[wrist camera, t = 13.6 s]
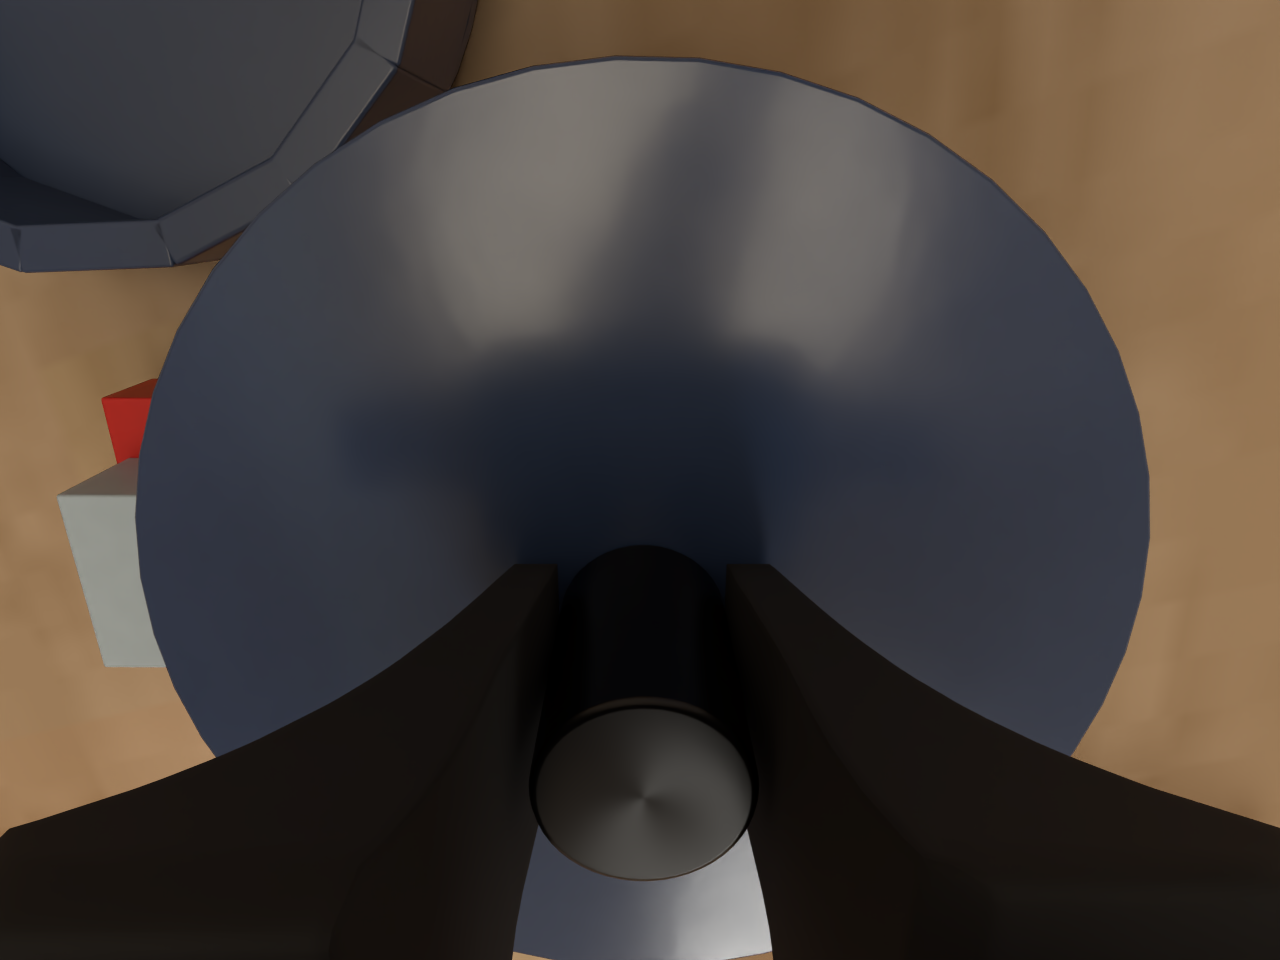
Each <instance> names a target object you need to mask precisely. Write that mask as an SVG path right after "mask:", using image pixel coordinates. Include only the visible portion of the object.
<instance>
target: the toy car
mask: <svg viewBox="0 0 1280 960" xmlns="http://www.w3.org/2000/svg"><path fill="white" fill-rule="evenodd" d="M157 380H158V379H150V380H148V381H145V382H143V383H140V384H137V385H135V386H132V387H129V388H127V389H124V390H121V391H119V392H116V393H114V394H111V395H108V396H106V397H103V398H102V404H103V408H104V412H105V416H106V420H107V424H108V428H109V432H110V436H111V440H112V444H113V448H114V452H115V456H116V460H117V464H116V465H114V466H113V467H111V468H109V469H107V470H105V471H103V472H101V473H99V474H97V475H95V476H93V477H91V478H89V479H87V480H85V481H84V482H82V483H80V484H78V485H76V486H74V487H72V488H70V489H68V490H66V491H64V492H62V493H60V494H58V495H57V500H58V504H59V507H60V511H61V514H62V518H63V521H64V525H65V529H66V532H67V536H68V539H69V543H70V546H71V550H72V553H73V557H74V560H75V564H76V567H77V571H78V574H79V578H80V581H81V585H82V589H83V592H84V596H85V599H86V603H87V606H88V610H89V613H90V617H91V620H92V624H93V627H94V631H95V634H96V638H97V641H98V645H99V649H100V652H101V656H102V659H103V663H104V666H105V667H166V665H165V663H164V660H163V657H162V655H161V652H160V650H159V647H158V645H157V642H156V639H155V637H154V634H153V630H152V626H151V621H150V617H149V613H148V609H147V604H146V600H145V596H144V592H143V587H142V583H141V579H140V570H139V559H138V547H137V536H136V524H135V508H136V492H137V476H138V461H139V452H140V448H141V443H142V439H143V434H144V430H145V425H146V421H147V416H148V411H149V407H150V402H151V398H152V393H153V391H154V388H155V385H156V383H157Z"/></svg>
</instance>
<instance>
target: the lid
mask: <svg viewBox="0 0 1280 960" xmlns="http://www.w3.org/2000/svg"><path fill="white" fill-rule="evenodd" d="M135 524H136V536H137V547H138V559H139V570H140V579H141V583H142V587H143V592H144V596H145V600H146V604H147V609H148V613H149V617H150V621H151V626H152V630H153V634H154V637H155V639H156V642H157V645H158V647H159V650H160V652H161V655H162V657H163V660H164V663H165V665H166V668H167V670H168V673H169V676H170V678H171V681H172V683H173V686H174V688H175V690H176V692H177V694H178V696H179V697H180V699H181V701H182V703H183V705H184V706H185V708H186V710H187V712H188V714H189V716H190V717H191V719H192V721H193V723H194V725H195V727H196V728H197V730H198V732H199V734H200V736H201V737H202V739H203V740H204V742H205V743H206V744H207V746H208V747H209V748H210V750H211V751H212V753H213V754H214V755H215V757H219V756H221V755H223V754H226V753H228V752H230V751H233V750H235V749H237V748H240V747H242V746H244V745H247V744H249V743H251V742H253V741H255V740H258V739H260V738H262V737H264V736H266V735H268V734H270V733H272V732H274V731H276V730H278V729H280V728H282V727H284V726H286V725H288V724H290V723H292V722H294V721H296V720H298V719H300V718H302V717H303V716H305V715H307V714H309V713H311V712H313V711H315V710H317V709H319V708H321V707H323V706H325V705H327V704H329V703H331V702H332V701H334V700H336V699H338V698H340V697H341V696H343V695H345V694H346V693H348V692H350V691H351V690H353V689H354V688H356V687H358V686H359V685H361V684H363V683H364V682H366V681H368V680H369V679H371V678H373V677H374V676H376V675H377V674H379V673H380V672H382V671H383V670H385V669H386V668H388V667H389V666H391V665H392V664H394V663H395V662H397V661H398V660H399V659H401V658H402V657H403V656H405V655H406V654H407V653H409V652H410V651H411V650H413V649H414V648H415V647H417V646H418V645H419V644H421V643H422V642H423V641H425V640H426V639H427V638H428V637H430V636H431V635H432V634H434V633H435V632H436V631H438V630H439V629H440V628H442V627H443V626H444V625H446V624H447V623H448V622H449V621H450V620H452V619H453V618H454V617H455V616H456V615H457V614H459V613H460V612H461V611H462V610H463V609H464V608H465V607H467V606H468V605H469V604H470V603H471V602H472V601H474V600H475V599H476V598H477V597H478V596H479V595H480V594H482V593H483V592H484V591H485V590H486V589H487V588H488V587H489V586H490V585H491V584H493V583H494V582H495V581H496V580H497V579H498V578H499V577H500V576H501V575H502V574H504V573H505V572H506V571H507V570H508V569H509V568H510V567H512V566H513V565H514V564H557V567H558V590H559V613H560V616H559V621H558V627H557V632H556V637H555V643H554V648H553V653H552V658H551V664H550V669H549V674H548V679H547V685H546V690H545V695H544V701H543V706H542V711H541V716H540V722H539V727H538V732H537V737H536V743H535V748H534V753H533V759H532V764H531V769H530V776H529V798H530V803H531V807H532V810H533V813H534V815H535V818H536V820H537V823H538V829H537V833H536V838H535V842H534V846H533V850H532V855H531V859H530V863H529V868H528V872H527V876H526V880H525V885H524V889H523V894H522V899H521V904H520V910H519V915H518V920H517V926H516V933H515V940H514V948H513V952H518V953H523V954H527V955H532V956H537V957H542V958H547V959H552V960H730V959H736V958H742V957H747V956H753V955H759V954H765V953H768V952H772V946H771V939H770V932H769V925H768V920H767V915H766V910H765V905H764V899H763V894H762V890H761V885H760V881H759V877H758V873H757V869H756V864H755V860H754V856H753V852H752V848H751V843H750V839H749V835H748V831H747V828H748V826H749V824H750V822H751V820H752V817H753V815H754V812H755V809H756V805H757V802H758V796H759V775H758V770H757V765H756V760H755V756H754V751H753V746H752V741H751V736H750V731H749V726H748V721H747V716H746V711H745V706H744V701H743V696H742V692H741V687H740V682H739V677H738V672H737V667H736V662H735V658H734V653H733V648H732V643H731V639H730V634H729V629H728V624H727V619H726V614H725V589H726V567H727V564H770V565H772V566H773V567H774V568H775V569H777V570H778V571H779V572H780V573H781V574H782V575H783V576H785V577H786V578H787V579H788V580H789V581H790V582H791V583H792V584H794V585H795V586H796V587H797V588H798V589H799V590H800V591H801V592H803V593H804V594H805V595H806V596H807V597H808V598H809V599H810V600H812V601H813V602H814V603H815V604H816V605H817V606H819V607H820V608H821V609H822V610H823V611H824V612H826V613H827V614H828V615H829V616H830V617H832V618H833V619H834V620H835V621H837V622H838V623H839V624H840V625H841V626H843V627H844V628H845V629H846V630H848V631H849V632H850V633H852V634H853V635H854V636H856V637H857V638H858V639H859V640H861V641H862V642H863V643H865V644H866V645H868V646H869V647H870V648H872V649H873V650H875V651H876V652H877V653H879V654H880V655H882V656H883V657H884V658H886V659H887V660H889V661H890V662H891V663H893V664H894V665H896V666H897V667H899V668H900V669H902V670H903V671H905V672H906V673H908V674H910V675H911V676H913V677H914V678H916V679H917V680H919V681H921V682H923V683H924V684H926V685H928V686H929V687H931V688H933V689H934V690H936V691H938V692H940V693H941V694H943V695H945V696H946V697H948V698H950V699H951V700H953V701H955V702H957V703H958V704H960V705H962V706H964V707H966V708H968V709H970V710H972V711H973V712H975V713H977V714H979V715H981V716H983V717H985V718H987V719H989V720H991V721H993V722H995V723H997V724H1000V725H1002V726H1004V727H1006V728H1008V729H1010V730H1012V731H1014V732H1016V733H1018V734H1020V735H1023V736H1025V737H1027V738H1029V739H1031V740H1033V741H1035V742H1037V743H1040V744H1042V745H1044V746H1047V747H1049V748H1051V749H1054V750H1056V751H1058V752H1061V753H1063V754H1065V755H1068V756H1071V755H1072V754H1073V752H1074V751H1075V749H1076V748H1077V746H1078V744H1079V743H1080V741H1081V739H1082V738H1083V736H1084V734H1085V733H1086V731H1087V729H1088V728H1089V726H1090V725H1091V723H1092V721H1093V720H1094V718H1095V716H1096V715H1097V713H1098V711H1099V710H1100V708H1101V706H1102V705H1103V703H1104V700H1105V698H1106V696H1107V694H1108V691H1109V689H1110V687H1111V684H1112V682H1113V680H1114V678H1115V675H1116V673H1117V671H1118V669H1119V666H1120V664H1121V662H1122V660H1123V657H1124V655H1125V653H1126V650H1127V646H1128V643H1129V639H1130V636H1131V632H1132V629H1133V625H1134V622H1135V618H1136V615H1137V611H1138V608H1139V604H1140V601H1141V597H1142V591H1143V584H1144V577H1145V570H1146V562H1147V555H1148V548H1149V541H1150V492H1149V471H1148V465H1147V459H1146V453H1145V447H1144V440H1143V434H1142V428H1141V422H1140V416H1139V412H1138V409H1137V406H1136V403H1135V400H1134V397H1133V394H1132V390H1131V387H1130V384H1129V381H1128V378H1127V375H1126V372H1125V369H1124V366H1123V363H1122V360H1121V357H1120V354H1119V351H1118V349H1117V347H1116V345H1115V343H1114V341H1113V339H1112V337H1111V335H1110V333H1109V331H1108V329H1107V328H1106V326H1105V324H1104V322H1103V320H1102V318H1101V316H1100V314H1099V312H1098V310H1097V308H1096V306H1095V304H1094V302H1093V300H1092V298H1091V296H1090V294H1089V293H1088V291H1087V289H1086V287H1085V286H1084V285H1083V283H1082V282H1081V281H1080V279H1079V278H1078V276H1077V275H1076V274H1075V272H1074V271H1073V270H1072V268H1071V267H1070V266H1069V264H1068V263H1067V261H1066V260H1065V259H1064V257H1063V256H1062V255H1061V253H1060V252H1059V251H1058V249H1057V248H1056V246H1055V245H1054V244H1053V242H1052V241H1051V240H1050V238H1049V237H1048V236H1047V234H1046V233H1045V231H1044V230H1043V229H1042V228H1041V227H1040V226H1038V225H1037V224H1036V223H1035V222H1034V221H1033V220H1032V219H1031V218H1030V217H1029V216H1028V215H1027V214H1026V213H1025V212H1024V211H1023V210H1022V209H1021V208H1020V207H1019V206H1018V205H1017V204H1016V203H1015V202H1014V201H1013V200H1012V199H1011V198H1010V197H1009V196H1008V195H1007V194H1006V193H1005V192H1004V191H1003V190H1002V189H1001V188H1000V187H999V186H998V185H997V184H996V183H995V182H994V181H993V180H992V179H991V178H989V177H988V176H987V175H985V174H984V173H983V172H981V171H980V170H978V169H977V168H976V167H974V166H973V165H971V164H970V163H969V162H967V161H966V160H965V159H963V158H962V157H960V156H959V155H958V154H956V153H955V152H954V151H952V150H951V149H949V148H948V147H947V146H945V145H944V144H942V143H941V142H940V141H938V140H937V139H936V138H934V137H933V136H931V135H930V134H928V133H926V132H924V131H922V130H921V129H919V128H917V127H915V126H913V125H911V124H909V123H907V122H905V121H903V120H901V119H899V118H897V117H895V116H893V115H891V114H889V113H887V112H885V111H883V110H881V109H880V108H878V107H876V106H874V105H872V104H870V103H868V102H866V101H864V100H862V99H860V98H858V97H855V96H852V95H849V94H846V93H843V92H840V91H837V90H834V89H831V88H828V87H825V86H822V85H819V84H816V83H813V82H810V81H807V80H804V79H801V78H798V77H795V76H792V75H789V74H786V73H783V72H779V71H773V70H767V69H762V68H756V67H750V66H745V65H739V64H733V63H727V62H722V61H716V60H710V59H704V58H696V57H655V56H608V57H600V58H592V59H584V60H575V61H567V62H559V63H551V64H543V65H535V66H530V67H527V68H523V69H520V70H516V71H512V72H509V73H505V74H502V75H498V76H494V77H491V78H487V79H484V80H480V81H477V82H473V83H469V84H466V85H462V86H459V87H455V88H452V89H450V90H448V91H446V92H443V93H441V94H439V95H437V96H434V97H432V98H430V99H428V100H426V101H423V102H421V103H419V104H417V105H414V106H412V107H410V108H408V109H406V110H403V111H401V112H399V113H397V114H394V115H392V116H390V117H388V118H386V119H383V120H381V121H379V122H378V123H376V124H375V125H373V126H372V127H370V128H368V129H367V130H365V131H364V132H362V133H361V134H359V135H358V136H356V137H355V138H353V139H351V140H350V141H348V142H347V143H345V144H344V145H342V146H341V147H339V148H338V149H336V150H334V151H333V152H331V153H330V154H328V155H327V156H325V157H324V158H322V159H321V160H319V161H317V162H316V163H314V164H313V165H312V166H311V167H310V168H309V169H308V170H307V171H305V172H304V173H303V174H302V175H301V176H300V177H299V178H298V179H296V180H295V181H294V182H293V183H292V184H291V185H290V186H289V187H288V188H286V189H285V190H284V191H283V192H282V193H281V194H280V195H279V196H277V197H276V198H275V199H274V200H273V201H272V202H271V203H270V204H268V205H267V206H266V207H265V208H264V209H263V210H262V211H261V212H259V213H258V215H257V216H256V217H255V218H254V219H253V221H252V222H251V223H250V224H249V226H248V227H247V228H246V229H245V230H244V232H243V233H242V234H241V235H240V237H239V238H238V239H237V240H236V241H235V243H234V244H233V245H232V246H231V248H230V249H229V250H228V251H227V252H226V254H225V255H224V256H223V257H222V258H221V260H220V261H219V262H218V263H217V265H216V266H215V267H214V268H213V269H212V271H211V273H210V275H209V276H208V278H207V280H206V281H205V283H204V285H203V287H202V288H201V290H200V292H199V293H198V295H197V297H196V299H195V300H194V302H193V304H192V305H191V307H190V309H189V310H188V312H187V314H186V316H185V317H184V319H183V321H182V322H181V324H180V326H179V328H178V329H177V332H176V334H175V337H174V339H173V342H172V344H171V347H170V350H169V352H168V355H167V357H166V360H165V362H164V365H163V367H162V370H161V373H160V375H159V378H158V380H157V383H156V385H155V388H154V391H153V393H152V398H151V402H150V407H149V411H148V416H147V421H146V425H145V430H144V434H143V439H142V443H141V448H140V452H139V461H138V476H137V492H136V508H135Z"/></svg>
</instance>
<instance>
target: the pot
mask: <svg viewBox="0 0 1280 960" xmlns="http://www.w3.org/2000/svg"><path fill="white" fill-rule="evenodd" d="M476 6H477V0H0V265H2V266H5V267H8V268H11V269H14V270H16V271H19V272H25V273H36V272H61V271H86V270H112V269H137V268H162V267H176V266H183V265H189V264H195V263H202V262H208V261H214V260H221V258H222V257H223V256H224V255H225V254H226V252H227V251H228V250H229V249H230V248H231V246H232V245H233V244H234V243H235V241H236V240H237V239H238V238H239V237H240V235H241V234H242V233H243V232H244V230H245V229H246V228H247V227H248V226H249V224H250V223H251V222H252V221H253V219H254V218H255V217H256V216H257V215H258V213H259V212H261V211H262V210H263V209H264V208H265V207H266V206H267V205H268V204H270V203H271V202H272V201H273V200H274V199H275V198H276V197H277V196H279V195H280V194H281V193H282V192H283V191H284V190H285V189H286V188H288V187H289V186H290V185H291V184H292V183H293V182H294V181H295V180H296V179H298V178H299V177H300V176H301V175H302V174H303V173H304V172H305V171H307V170H308V169H309V168H310V167H311V166H312V165H313V164H314V163H316V162H317V161H319V160H321V159H322V158H324V157H325V156H327V155H328V154H330V153H331V152H333V151H334V150H336V149H338V148H339V147H341V146H342V145H344V144H345V143H347V142H348V141H350V140H351V139H353V138H355V137H356V136H358V135H359V134H361V133H362V132H364V131H365V130H367V129H368V128H370V127H372V126H373V125H375V124H376V123H378V122H379V121H381V120H383V119H386V118H388V117H390V116H392V115H394V114H397V113H399V112H401V111H403V110H406V109H408V108H410V107H412V106H414V105H417V104H419V103H421V102H423V101H426V100H428V99H430V98H432V97H434V96H437V95H439V94H441V93H443V92H446V91H448V90H450V88H451V85H452V83H453V81H454V79H455V77H456V75H457V73H458V70H459V67H460V64H461V61H462V58H463V55H464V51H465V48H466V45H467V42H468V39H469V36H470V33H471V30H472V26H473V21H474V16H475V11H476Z"/></svg>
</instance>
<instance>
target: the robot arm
mask: <svg viewBox="0 0 1280 960" xmlns="http://www.w3.org/2000/svg"><path fill="white" fill-rule="evenodd" d="M725 614H726V619H727V624H728V629H729V634H730V639H731V643H732V648H733V653H734V658H735V662H736V667H737V672H738V677H739V682H740V687H741V692H742V696H743V701H744V706H745V711H746V716H747V721H748V726H749V731H750V736H751V741H752V746H753V751H754V756H755V760H756V765H757V770H758V775H759V796H758V802H757V805H756V809H755V812H754V815H753V817H752V820H751V822H750V824H749V826H748V828H747V831H748V835H749V839H750V843H751V848H752V852H753V856H754V860H755V864H756V869H757V873H758V877H759V881H760V885H761V890H762V894H763V899H764V905H765V910H766V915H767V920H768V925H769V932H770V939H771V946H772V953H773V960H1280V828H1278V827H1275V826H1272V825H1269V824H1265V823H1262V822H1259V821H1256V820H1253V819H1249V818H1246V817H1243V816H1240V815H1237V814H1233V813H1230V812H1227V811H1224V810H1221V809H1218V808H1214V807H1211V806H1208V805H1205V804H1202V803H1198V802H1195V801H1192V800H1189V799H1186V798H1182V797H1179V796H1176V795H1173V794H1170V793H1167V792H1163V791H1160V790H1157V789H1154V788H1151V787H1148V786H1146V785H1143V784H1140V783H1137V782H1135V781H1132V780H1129V779H1127V778H1124V777H1122V776H1119V775H1116V774H1114V773H1111V772H1108V771H1106V770H1103V769H1101V768H1098V767H1095V766H1093V765H1090V764H1088V763H1085V762H1082V761H1080V760H1077V759H1075V758H1073V757H1070V756H1068V755H1065V754H1063V753H1061V752H1058V751H1056V750H1054V749H1051V748H1049V747H1047V746H1044V745H1042V744H1040V743H1037V742H1035V741H1033V740H1031V739H1029V738H1027V737H1025V736H1023V735H1020V734H1018V733H1016V732H1014V731H1012V730H1010V729H1008V728H1006V727H1004V726H1002V725H1000V724H997V723H995V722H993V721H991V720H989V719H987V718H985V717H983V716H981V715H979V714H977V713H975V712H973V711H972V710H970V709H968V708H966V707H964V706H962V705H960V704H958V703H957V702H955V701H953V700H951V699H950V698H948V697H946V696H945V695H943V694H941V693H940V692H938V691H936V690H934V689H933V688H931V687H929V686H928V685H926V684H924V683H923V682H921V681H919V680H917V679H916V678H914V677H913V676H911V675H910V674H908V673H906V672H905V671H903V670H902V669H900V668H899V667H897V666H896V665H894V664H893V663H891V662H890V661H889V660H887V659H886V658H884V657H883V656H882V655H880V654H879V653H877V652H876V651H875V650H873V649H872V648H870V647H869V646H868V645H866V644H865V643H863V642H862V641H861V640H859V639H858V638H857V637H856V636H854V635H853V634H852V633H850V632H849V631H848V630H846V629H845V628H844V627H843V626H841V625H840V624H839V623H838V622H837V621H835V620H834V619H833V618H832V617H830V616H829V615H828V614H827V613H826V612H824V611H823V610H822V609H821V608H820V607H819V606H817V605H816V604H815V603H814V602H813V601H812V600H810V599H809V598H808V597H807V596H806V595H805V594H804V593H803V592H801V591H800V590H799V589H798V588H797V587H796V586H795V585H794V584H792V583H791V582H790V581H789V580H788V579H787V578H786V577H785V576H783V575H782V574H781V573H780V572H779V571H778V570H777V569H775V568H774V567H773V566H772V565H770V564H727V567H726V589H725ZM559 616H560V613H559V590H558V567H557V564H514V565H513V566H512V567H510V568H509V569H508V570H507V571H506V572H505V573H504V574H502V575H501V576H500V577H499V578H498V579H497V580H496V581H495V582H494V583H493V584H491V585H490V586H489V587H488V588H487V589H486V590H485V591H484V592H483V593H482V594H480V595H479V596H478V597H477V598H476V599H475V600H474V601H472V602H471V603H470V604H469V605H468V606H467V607H465V608H464V609H463V610H462V611H461V612H460V613H459V614H457V615H456V616H455V617H454V618H453V619H452V620H450V621H449V622H448V623H447V624H446V625H444V626H443V627H442V628H440V629H439V630H438V631H436V632H435V633H434V634H432V635H431V636H430V637H428V638H427V639H426V640H425V641H423V642H422V643H421V644H419V645H418V646H417V647H415V648H414V649H413V650H411V651H410V652H409V653H407V654H406V655H405V656H403V657H402V658H401V659H399V660H398V661H397V662H395V663H394V664H392V665H391V666H389V667H388V668H386V669H385V670H383V671H382V672H380V673H379V674H377V675H376V676H374V677H373V678H371V679H369V680H368V681H366V682H364V683H363V684H361V685H359V686H358V687H356V688H354V689H353V690H351V691H350V692H348V693H346V694H345V695H343V696H341V697H340V698H338V699H336V700H334V701H332V702H331V703H329V704H327V705H325V706H323V707H321V708H319V709H317V710H315V711H313V712H311V713H309V714H307V715H305V716H303V717H302V718H300V719H298V720H296V721H294V722H292V723H290V724H288V725H286V726H284V727H282V728H280V729H278V730H276V731H274V732H272V733H270V734H268V735H266V736H264V737H262V738H260V739H258V740H255V741H253V742H251V743H249V744H247V745H244V746H242V747H240V748H237V749H235V750H233V751H230V752H228V753H226V754H223V755H221V756H219V757H216V758H214V759H212V760H209V761H207V762H204V763H202V764H199V765H197V766H194V767H191V768H189V769H186V770H184V771H181V772H179V773H176V774H174V775H171V776H168V777H166V778H163V779H161V780H158V781H155V782H152V783H150V784H147V785H144V786H141V787H139V788H136V789H133V790H130V791H127V792H124V793H121V794H118V795H114V796H111V797H108V798H105V799H102V800H99V801H96V802H93V803H90V804H87V805H84V806H81V807H77V808H74V809H71V810H68V811H65V812H62V813H59V814H56V815H53V816H50V817H47V818H44V819H40V820H37V821H34V822H30V823H27V824H24V825H20V826H17V827H13V828H10V829H9V830H7V831H6V832H5V833H4V834H3V835H2V836H1V837H0V960H512V955H513V948H514V940H515V933H516V926H517V920H518V915H519V910H520V904H521V899H522V894H523V889H524V885H525V880H526V876H527V872H528V868H529V863H530V859H531V855H532V850H533V846H534V842H535V838H536V833H537V829H538V823H537V820H536V818H535V815H534V813H533V810H532V807H531V803H530V798H529V776H530V769H531V764H532V759H533V753H534V748H535V743H536V737H537V732H538V727H539V722H540V716H541V711H542V706H543V701H544V695H545V690H546V685H547V679H548V674H549V669H550V664H551V658H552V653H553V648H554V643H555V637H556V632H557V627H558V621H559Z"/></svg>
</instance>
